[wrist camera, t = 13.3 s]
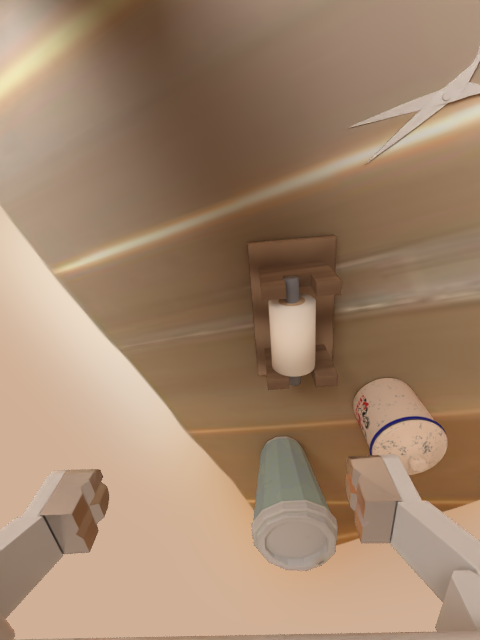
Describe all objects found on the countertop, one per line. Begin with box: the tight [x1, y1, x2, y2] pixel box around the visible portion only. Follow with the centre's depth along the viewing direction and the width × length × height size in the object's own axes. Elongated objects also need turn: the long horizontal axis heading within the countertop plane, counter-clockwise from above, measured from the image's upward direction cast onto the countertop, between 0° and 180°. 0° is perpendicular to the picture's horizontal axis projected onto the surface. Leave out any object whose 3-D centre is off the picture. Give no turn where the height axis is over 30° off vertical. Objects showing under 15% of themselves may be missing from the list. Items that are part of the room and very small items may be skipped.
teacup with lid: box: [353, 378, 447, 475], centre depth 43 cm, size 12×9×12 cm
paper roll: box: [268, 276, 316, 386], centre depth 37 cm, size 13×5×5 cm
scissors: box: [349, 46, 480, 163], centre depth 32 cm, size 11×1×20 cm
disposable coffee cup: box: [252, 436, 338, 571], centre depth 46 cm, size 11×11×15 cm
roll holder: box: [248, 235, 342, 390], centre depth 38 cm, size 18×10×8 cm, turn 5°
